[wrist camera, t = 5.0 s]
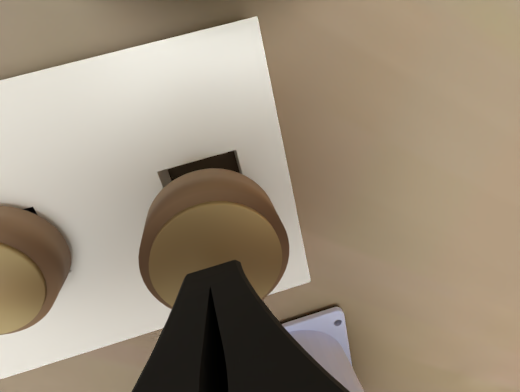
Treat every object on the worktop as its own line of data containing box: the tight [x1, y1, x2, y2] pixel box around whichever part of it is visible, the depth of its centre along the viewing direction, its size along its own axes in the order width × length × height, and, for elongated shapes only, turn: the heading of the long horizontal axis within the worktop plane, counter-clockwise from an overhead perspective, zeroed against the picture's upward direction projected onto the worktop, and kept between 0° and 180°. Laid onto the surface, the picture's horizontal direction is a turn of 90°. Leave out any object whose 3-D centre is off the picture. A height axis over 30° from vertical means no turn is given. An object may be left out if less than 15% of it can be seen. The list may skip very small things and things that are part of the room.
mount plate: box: [0, 16, 311, 379], centre depth 15 cm, size 12×23×2 cm, turn 102°
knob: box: [138, 168, 289, 309], centre depth 12 cm, size 4×4×5 cm
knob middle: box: [0, 206, 71, 335], centre depth 14 cm, size 4×4×5 cm
